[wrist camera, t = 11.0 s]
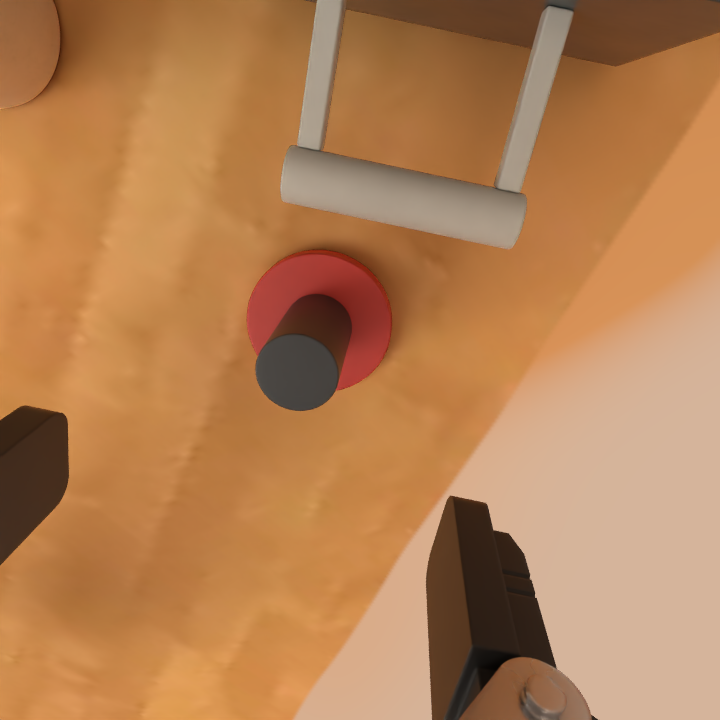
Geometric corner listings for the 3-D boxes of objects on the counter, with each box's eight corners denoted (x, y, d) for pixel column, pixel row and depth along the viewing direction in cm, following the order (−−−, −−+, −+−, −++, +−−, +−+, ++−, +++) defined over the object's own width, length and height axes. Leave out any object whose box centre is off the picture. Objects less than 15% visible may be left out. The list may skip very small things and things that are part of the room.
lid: (244, 368, 23) (200, 433, 18) (260, 235, 20) (215, 266, 16) (376, 396, 23) (368, 467, 18) (406, 266, 20) (406, 306, 16)
